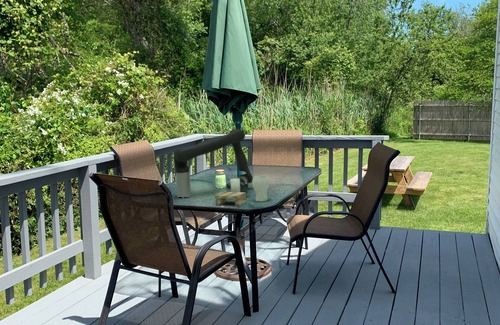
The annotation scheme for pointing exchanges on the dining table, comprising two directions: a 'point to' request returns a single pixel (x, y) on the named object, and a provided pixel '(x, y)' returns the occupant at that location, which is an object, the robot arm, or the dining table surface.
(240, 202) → the shelf stand
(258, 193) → the cup
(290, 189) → the dining table surface
